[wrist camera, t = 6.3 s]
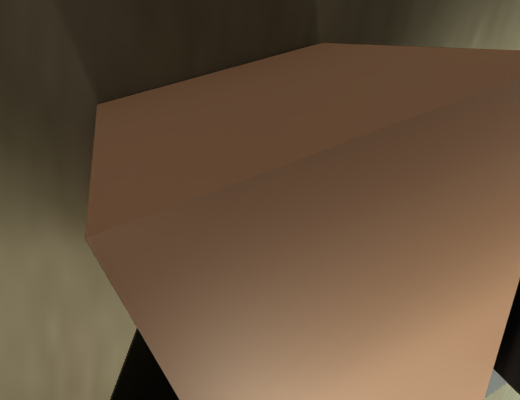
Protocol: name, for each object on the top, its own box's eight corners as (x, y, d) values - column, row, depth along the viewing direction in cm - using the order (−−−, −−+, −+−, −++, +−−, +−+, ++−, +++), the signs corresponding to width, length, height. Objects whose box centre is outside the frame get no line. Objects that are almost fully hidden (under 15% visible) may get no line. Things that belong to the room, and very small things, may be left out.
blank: (209, 356, 10) (279, 569, 6) (97, 105, 6) (85, 238, 2) (343, 289, 12) (475, 429, 7) (322, 42, 8) (585, 52, 3)
